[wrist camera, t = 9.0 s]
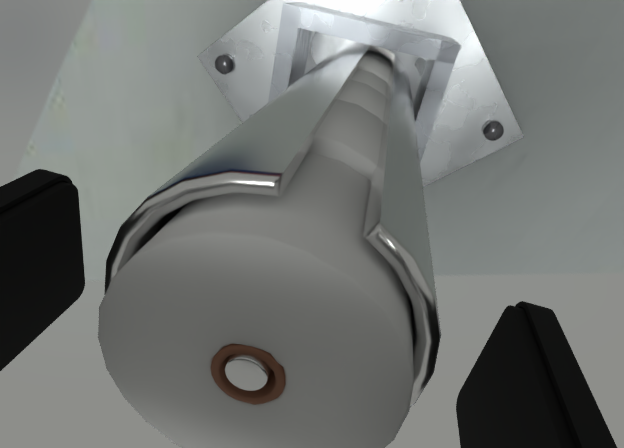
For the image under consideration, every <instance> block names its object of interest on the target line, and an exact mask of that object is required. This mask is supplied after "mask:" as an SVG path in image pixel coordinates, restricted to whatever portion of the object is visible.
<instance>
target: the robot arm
mask: <svg viewBox="0 0 624 448" xmlns="http://www.w3.org/2000/svg"><path fill="white" fill-rule="evenodd" d="M84 286H85V277H84V264H83V250H82V237H81V224H80V211H79V197H78V190H77V188H76V186H75V185H73V184H72V181H71V179H70V178H69V177H67V176H65V175H61V174H58V173H54V172H50V171H47V170H42V169H38V170H35V171H33V172H31V173H28V174H26V175H24V176H22V177H20V178H18V179H16V180H14V181H12V182H10V183H8V184H5V185H3V186H1V187H0V371H1V370H2V369H3V368H4V367H5V366H6V365H8V364H9V363H10V362H11V361H12V360H13V359H14V358H15V357H16V356H17V355H18V354H19V353H20V352H21V351H23V350H24V349H25V348H26V347H27V346H28V345H29V344H30V343H31V342H32V341H33V340H34V339H35V338H36V337H37V336H39V335H40V334H41V333H42V332H43V331H44V330H45V329H46V328H47V327H48V326H49V325H50V324H52V323H53V321H55V320H56V319H57V318H58V317H59V316H60V315H61V314H62V313H63V312H64V311H65V310H66V309H68V308H69V307H70V306H71V305H72V304H73V303H74V302H75V301H76V300H77V299H78V298H79V297H80V295H81V294H82V292H83V290H84ZM456 405H457V406H456V412H457V420H458V428H459V436H460V445H461V448H617V447H616V444H615V442H614V440H613V438H612V436H611V434H610V431H609V429H608V427H607V425H606V423H605V421H604V419H603V416H602V414H601V412H600V410H599V408H598V406H597V404H596V401H595V399H594V397H593V395H592V393H591V391H590V388H589V386H588V384H587V382H586V380H585V378H584V375H583V373H582V371H581V369H580V367H579V365H578V363H577V360H576V358H575V356H574V354H573V352H572V350H571V348H570V345H569V343H568V341H567V339H566V337H565V335H564V333H563V330H562V328H561V326H560V324H559V322H558V320H557V317H556V315H555V314H554V312H553V311H552V310H551V309H548V308H545V307H541V306H537V305H534V304H531V303H526V302H523V301H522V302H519V303H518V304H516V306H515V307H514V306H508V307H506V309H505V310H504V312H503V314H502V316H501V317H500V319H499V321H498V323H497V325H496V327H495V329H494V330H493V332H492V334H491V336H490V338H489V340H488V341H487V343H486V345H485V347H484V349H483V350H482V352H481V354H480V356H479V357H478V359H477V361H476V363H475V365H474V367H473V368H472V370H471V372H470V374H469V376H468V378H467V379H466V381H465V383H464V385H463V387H462V389H461V390H460V392H459V395H458V398H457V404H456Z"/></svg>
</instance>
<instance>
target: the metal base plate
mask: <svg viewBox="0 0 624 448" xmlns="http://www.w3.org/2000/svg"><path fill="white" fill-rule="evenodd" d="M356 42H360V43H364V44H369V45H373V46H377V47H381V48H385V49H388V50H390V51H391V52H392V53H394V54H395V55H396V56H397V57H398V58H399V60H400V61H401V62H402V63H403V64H404V66H405V69H406V71H407V73H408V76H409V79H410V86H411V93H412V102H413V110H414V118H415V126H416V134H417V142H418V150H419V159H420V167H421V175H422V183H423V187H424V186H426V185H428V184H430V183H432V182H434V181H436V180H439V179H441V178H443V177H445V176H447V175H449V174H451V173H453V172H455V171H457V170H459V169H461V168H463V167H465V166H467V165H469V164H471V163H473V162H475V161H477V160H479V159H481V158H483V157H485V156H487V155H489V154H491V153H493V152H495V151H497V150H499V149H501V148H503V147H505V146H507V145H509V144H511V143H513V142H516V141H518V140H520V139H522V138H524V136H523V134H522V132H521V129H520V127H519V125H518V123H517V121H516V119H515V117H514V115H513V112H512V110H511V108H510V106H509V104H508V102H507V100H506V98H505V95H504V93H503V91H502V89H501V87H500V85H499V83H498V81H497V78H496V76H495V74H494V72H493V70H492V68H491V66H490V64H489V61H488V59H487V57H486V55H485V53H484V51H483V49H482V47H481V44H480V42H479V40H478V38H477V36H476V34H475V32H474V30H473V27H472V25H471V23H470V21H469V19H468V17H467V15H466V13H465V10H464V8H463V6H462V4H461V2H460V0H268V1H267V2H265V3H264V4H263V5H261V6H260V7H259V8H258V9H256V10H255V11H254V12H253V13H251V14H250V15H249V16H248V17H246V18H245V19H244V20H242V21H241V22H240V23H239V24H237V25H236V26H235V27H234V28H232V29H231V30H230V31H229V32H227V33H226V34H225V35H223V36H222V37H221V38H220V39H218V40H217V41H216V42H215V43H213V44H212V45H211V46H210V47H208V48H207V49H206V50H204V51H203V52H202V53H201V54H199V55H198V56H197V57H198V58H199V60H200V61H201V63H202V64H203V66H204V67H205V69H206V70H207V71H208V73H209V74H210V76H211V77H212V79H213V80H214V82H215V83H216V85H217V86H218V87H219V89H220V90H221V92H222V93H223V95H224V96H225V98H226V99H227V101H228V102H229V103H230V105H231V106H232V108H233V109H234V111H235V112H236V114H237V115H238V117H239V118H240V119H241V121H242V122H244V121H246V120H247V119H248V118H249V117H251V116H252V115H253V114H255V113H256V112H257V111H258V110H260V109H261V108H262V107H263V106H265V105H266V104H267V103H269V102H270V101H271V100H272V99H274V98H275V97H276V96H278V95H279V94H280V93H281V92H283V91H284V90H285V89H287V88H288V87H289V86H290V85H292V84H293V83H294V82H295V81H297V80H298V79H299V78H301V77H302V76H303V75H304V74H306V73H307V72H308V71H310V70H311V69H312V68H313V67H315V66H316V65H317V64H319V63H320V62H321V61H322V60H324V59H325V58H326V57H327V56H329V55H330V54H331V53H333V52H334V51H336V50H338V49H339V48H341V47H343V46H345V45H348V44H352V43H356Z"/></svg>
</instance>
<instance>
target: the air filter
mask: <svg viewBox="0 0 624 448" xmlns="http://www.w3.org/2000/svg"><path fill="white" fill-rule="evenodd" d="M98 335H99V336H98V338H99V342H100V346H101V349H102V353H103V357H104V360H105V364H106V368H107V370H108V371H109V373H110V375H111V377H112V378H113V380H114V381H115V383H116V385H117V387H118V388H119V390H120V392H121V393H122V395H123V397H124V398H125V399H126V400H127V401H128V402H129V403H130V404H131V406H132V407H133V408H134V409H135V410H136V411H137V412H138V413H139V414H140V415H141V416H142V418H143V419H144V420H145V421H146V422H147V423H149V424H150V425H151V426H152V427H154V428H155V429H156V430H158V431H159V432H160V433H161V434H163V435H164V436H165V437H167V438H168V439H169V440H171V441H172V442H173V443H175V444H176V445H178V446H180V447H182V448H385V447H386V446H387V445H388V444H390V443H391V442H392V441H393V440H394V438H395V437H396V435H397V433H398V431H399V429H400V427H401V425H402V423H403V422H404V420H405V418H406V416H407V414H408V412H409V409H410V407H411V406H412V405H414V404H415V403H416V401H417V400H418V398H419V396H420V395H421V393H422V391H423V390H424V388H425V386H426V385H427V383H428V381H429V380H430V378H431V376H432V375H433V373H434V368H435V364H436V358H437V353H438V348H439V342H440V338H441V330H440V322H439V314H438V306H437V298H436V289H435V281H434V273H433V265H432V256H431V248H430V240H429V232H428V224H427V216H426V208H425V199H424V191H423V183H422V175H421V167H420V159H419V150H418V142H417V134H416V126H415V118H414V110H413V102H412V93H411V86H410V79H409V76H408V73H407V71H406V69H405V66H404V64H403V63H402V62H401V61H400V60H399V58H398V57H397V56H396V55H395V54H394V53H392V52H391V51H390V50H388V49H385V48H381V47H377V46H373V45H369V44H364V43H360V42H356V43H352V44H348V45H345V46H343V47H341V48H339V49H338V50H336V51H334V52H333V53H331V54H330V55H329V56H327V57H326V58H325V59H324V60H322V61H321V62H320V63H319V64H317V65H316V66H315V67H313V68H312V69H311V70H310V71H308V72H307V73H306V74H304V75H303V76H302V77H301V78H299V79H298V80H297V81H295V82H294V83H293V84H292V85H290V86H289V87H288V88H287V89H285V90H284V91H283V92H281V93H280V94H279V95H278V96H276V97H275V98H274V99H272V100H271V101H270V102H269V103H267V104H266V105H265V106H263V107H262V108H261V109H260V110H258V111H257V112H256V113H255V114H253V115H252V116H251V117H249V118H248V119H247V120H246V121H244V122H243V123H242V124H240V125H239V126H238V127H237V128H235V129H234V130H233V131H231V132H230V133H229V134H228V135H226V136H225V137H224V138H222V139H221V140H220V141H219V142H217V143H216V144H215V145H214V146H212V147H211V148H210V149H208V150H207V151H206V152H205V153H203V154H202V155H201V156H199V157H198V158H197V159H196V160H194V161H193V162H192V163H190V164H189V165H188V166H187V167H185V168H184V169H183V170H182V171H180V172H179V173H178V174H176V175H175V176H174V177H173V178H171V179H170V180H169V181H167V182H166V183H165V184H164V185H162V186H161V187H160V188H158V189H157V190H156V191H155V192H153V193H152V194H151V195H149V196H148V197H147V198H146V199H145V200H144V201H143V202H142V203H141V205H140V206H139V207H138V208H137V209H136V210H135V211H134V212H133V213H132V214H131V215H130V216H129V217H128V219H127V220H126V221H125V222H124V223H123V224H122V225H121V227H120V229H119V231H118V234H117V236H116V238H115V241H114V243H113V246H112V248H111V251H110V253H109V255H108V258H107V260H106V277H105V296H104V298H103V300H102V302H101V305H100V307H99V332H98Z"/></svg>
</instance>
